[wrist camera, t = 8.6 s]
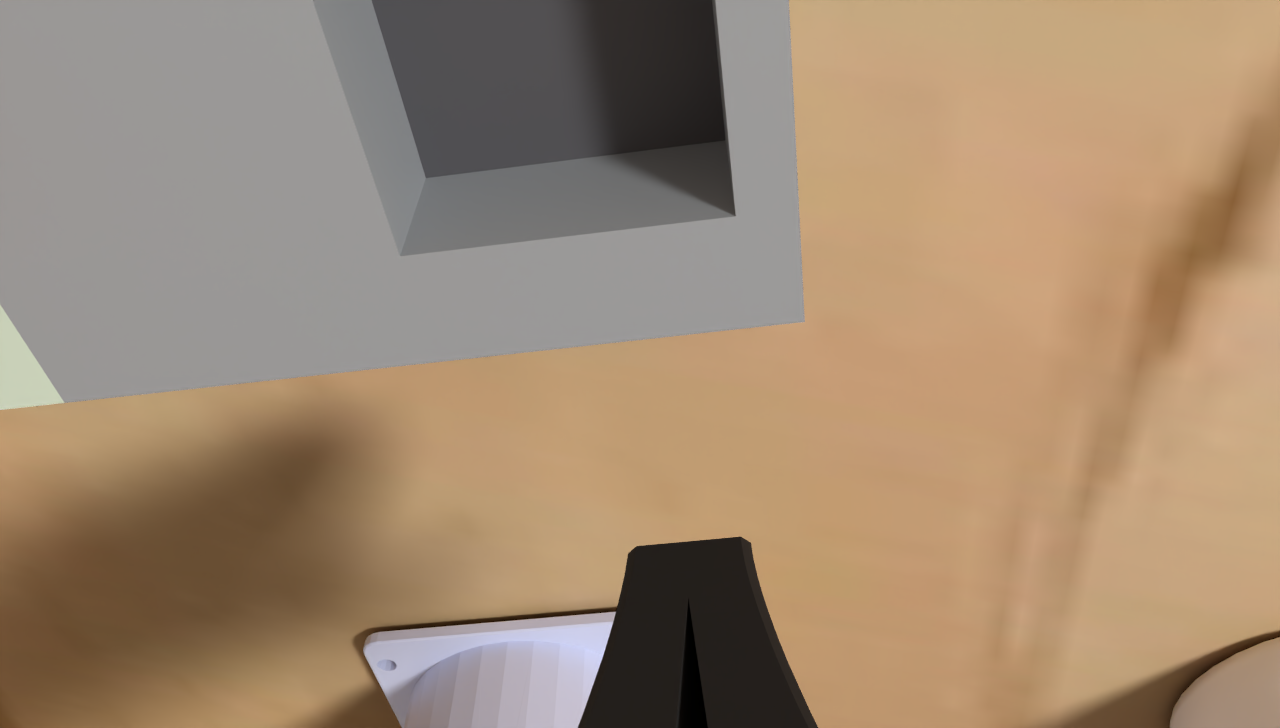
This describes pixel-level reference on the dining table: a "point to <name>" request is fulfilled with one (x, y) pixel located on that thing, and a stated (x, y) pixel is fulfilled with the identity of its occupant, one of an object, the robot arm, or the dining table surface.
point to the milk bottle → (1235, 692)
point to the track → (382, 184)
